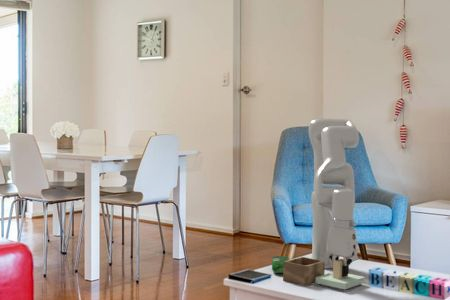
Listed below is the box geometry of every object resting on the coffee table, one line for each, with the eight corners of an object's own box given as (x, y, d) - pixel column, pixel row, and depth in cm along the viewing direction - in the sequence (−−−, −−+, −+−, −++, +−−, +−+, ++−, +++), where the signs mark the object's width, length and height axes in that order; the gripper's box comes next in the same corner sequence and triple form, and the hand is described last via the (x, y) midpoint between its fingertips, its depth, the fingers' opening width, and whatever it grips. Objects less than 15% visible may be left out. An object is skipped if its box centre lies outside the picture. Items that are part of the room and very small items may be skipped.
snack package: (271, 276, 216) (272, 262, 216) (271, 266, 231) (271, 253, 231) (290, 277, 215) (291, 263, 215) (288, 267, 231) (289, 254, 231)
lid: (336, 276, 213) (336, 255, 213) (364, 282, 205) (365, 260, 205) (315, 282, 203) (316, 260, 203) (344, 289, 195) (345, 266, 195)
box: (301, 275, 218) (302, 256, 218) (324, 280, 211) (324, 261, 211) (282, 280, 209) (283, 261, 209) (305, 286, 202) (306, 266, 202)
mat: (335, 279, 212) (335, 278, 212) (362, 285, 205) (362, 284, 205) (318, 285, 204) (318, 284, 204) (346, 291, 196) (346, 290, 196)
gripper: (368, 225, 201) (366, 277, 201) (328, 220, 212) (326, 269, 212) (357, 228, 195) (355, 281, 196) (317, 222, 206) (315, 273, 207)
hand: (340, 274), depth 204 cm, fingers closed on lid, 2 cm apart
